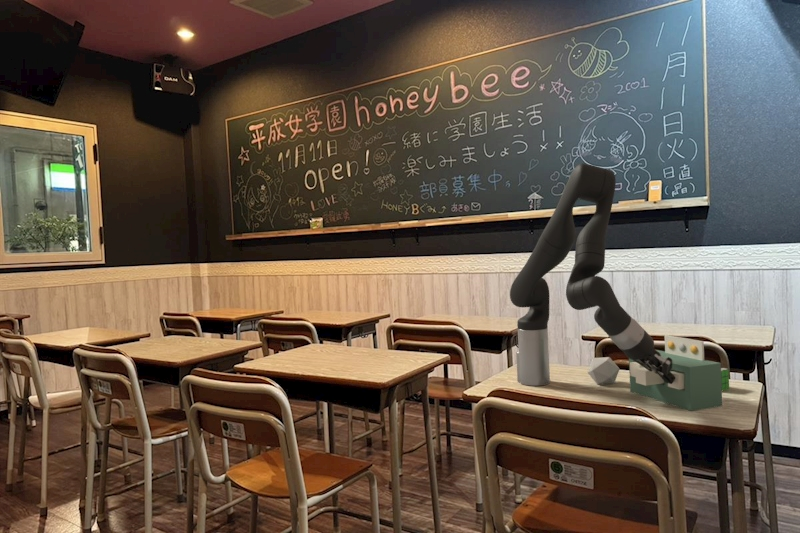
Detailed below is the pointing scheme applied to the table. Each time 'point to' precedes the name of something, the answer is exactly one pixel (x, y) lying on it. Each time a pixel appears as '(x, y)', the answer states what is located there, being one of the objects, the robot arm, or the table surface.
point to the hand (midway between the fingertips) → (671, 380)
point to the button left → (632, 368)
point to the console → (686, 377)
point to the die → (603, 370)
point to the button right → (678, 380)
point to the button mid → (647, 377)
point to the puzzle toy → (725, 378)
